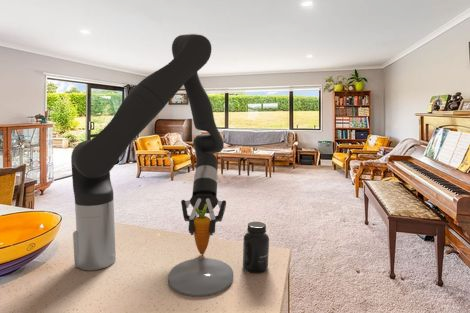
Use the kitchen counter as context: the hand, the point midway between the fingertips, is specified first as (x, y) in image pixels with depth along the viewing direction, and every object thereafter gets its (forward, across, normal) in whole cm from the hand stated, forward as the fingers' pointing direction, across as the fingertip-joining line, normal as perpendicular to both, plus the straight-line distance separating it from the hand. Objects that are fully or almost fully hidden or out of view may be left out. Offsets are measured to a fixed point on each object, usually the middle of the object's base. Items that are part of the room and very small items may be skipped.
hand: (201, 233), depth 81 cm
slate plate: (+12, +1, -2) cm, 12 cm away
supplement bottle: (+9, +15, +2) cm, 17 cm away
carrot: (+4, 0, +6) cm, 8 cm away
